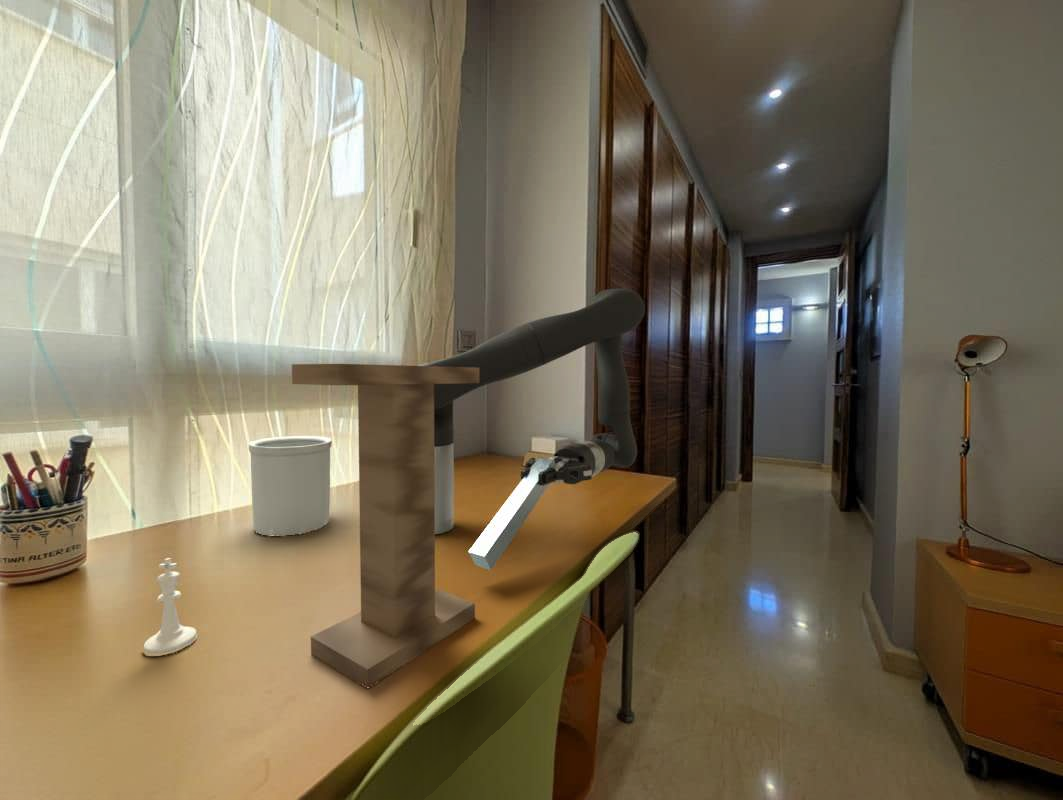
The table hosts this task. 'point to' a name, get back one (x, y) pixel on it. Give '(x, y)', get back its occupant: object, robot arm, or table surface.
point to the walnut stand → (392, 521)
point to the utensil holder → (290, 484)
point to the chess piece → (169, 617)
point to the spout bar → (510, 517)
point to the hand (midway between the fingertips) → (531, 477)
